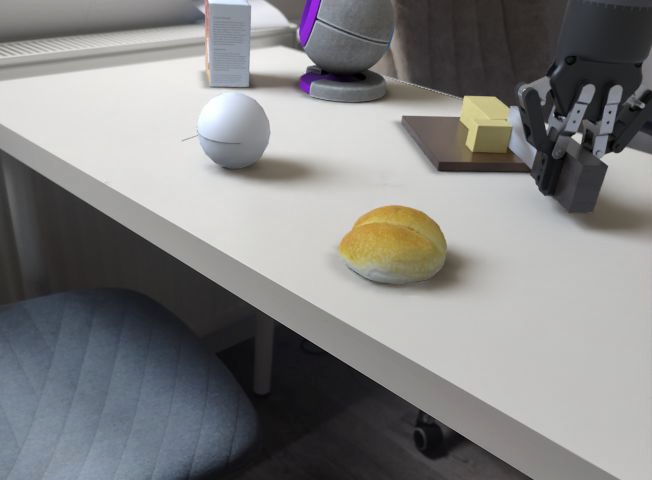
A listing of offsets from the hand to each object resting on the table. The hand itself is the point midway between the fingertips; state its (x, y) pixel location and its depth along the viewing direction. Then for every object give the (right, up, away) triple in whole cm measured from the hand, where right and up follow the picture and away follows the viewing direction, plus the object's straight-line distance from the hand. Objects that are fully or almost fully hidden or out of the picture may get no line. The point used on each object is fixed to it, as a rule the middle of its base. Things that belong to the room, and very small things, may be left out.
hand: (560, 192), depth 67 cm
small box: (-36, +23, +32) cm, 53 cm away
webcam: (-19, +22, +32) cm, 43 cm away
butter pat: (-4, +7, +11) cm, 14 cm away
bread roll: (-18, -8, -10) cm, 22 cm away
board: (-5, +9, +15) cm, 18 cm away
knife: (-1, +3, +4) cm, 5 cm away
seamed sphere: (-33, +3, +4) cm, 34 cm away
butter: (-3, +11, +16) cm, 20 cm away
